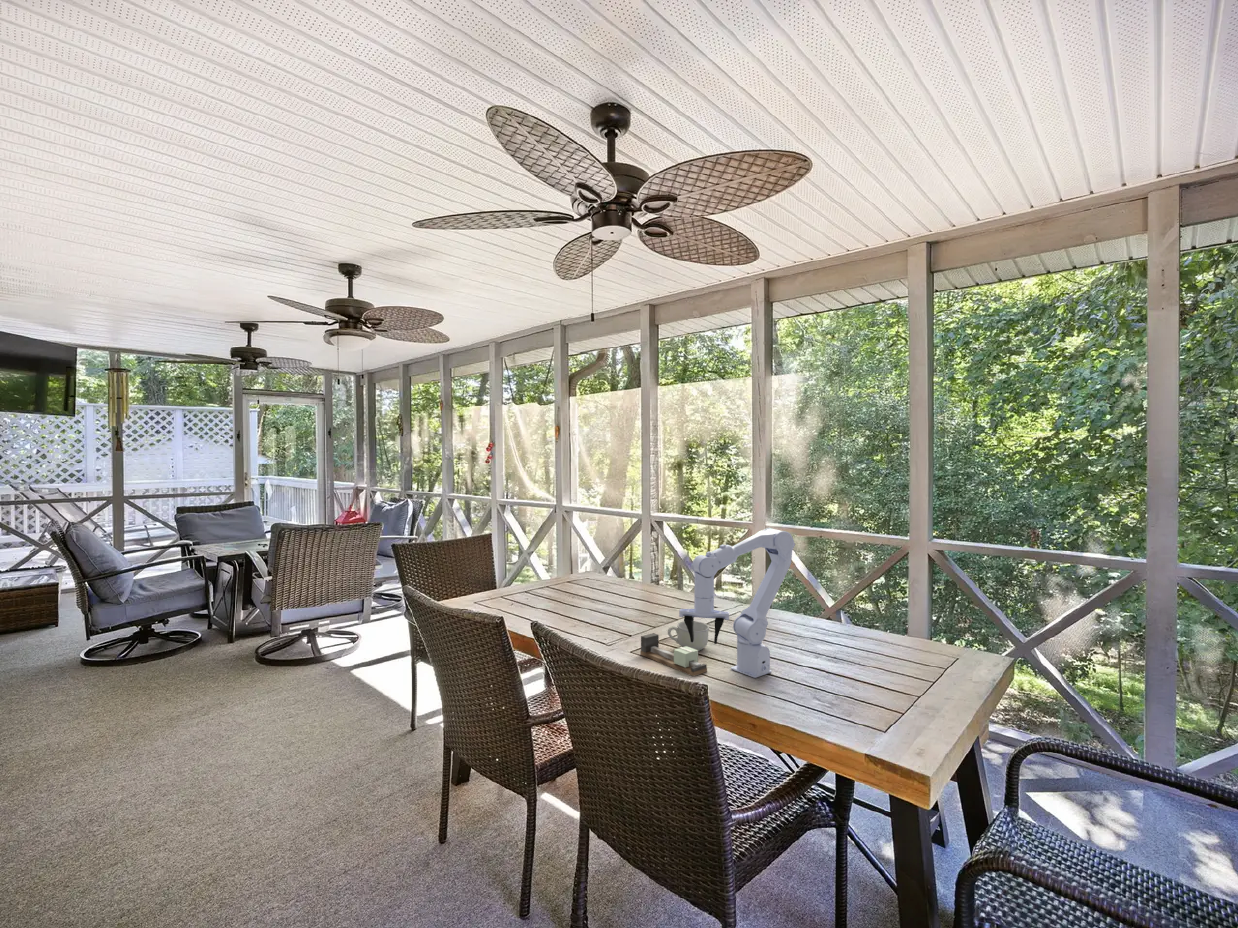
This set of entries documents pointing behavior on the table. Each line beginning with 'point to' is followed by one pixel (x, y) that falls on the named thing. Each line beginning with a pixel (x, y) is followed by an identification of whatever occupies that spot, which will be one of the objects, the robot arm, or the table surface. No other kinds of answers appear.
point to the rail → (671, 663)
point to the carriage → (685, 656)
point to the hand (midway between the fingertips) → (703, 642)
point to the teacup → (684, 637)
